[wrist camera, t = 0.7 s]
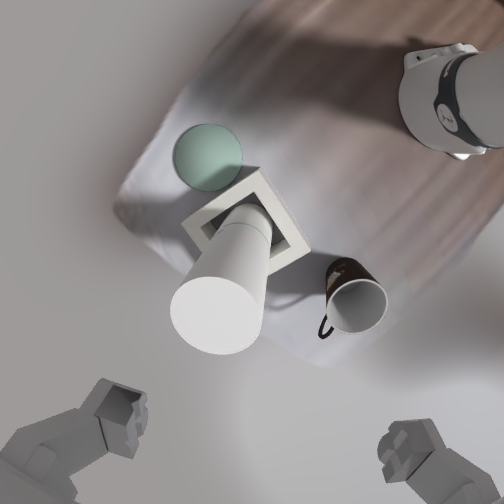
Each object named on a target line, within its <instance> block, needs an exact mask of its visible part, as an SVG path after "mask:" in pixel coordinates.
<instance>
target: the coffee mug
mask: <svg viewBox="0 0 504 504" xmlns="http://www.w3.org/2000/svg"><path fill="white" fill-rule="evenodd" d="M387 308H388V296H387V294H386V291H385V290H384V289H383V287H382V286H381V285H380V284H379V283H378V282H377V281H376V280H375V279H374V278H373V277H372V276H371V274H370V273H369V272H368V271H367V270H366V269H365V268H364V267H363V266H362V265H361V264H360V263H359V262H358V261H356V260H354V259H352V258H341V259H338V260H336V261H335V262H333V263H332V264H331V265H330V266H329V268H328V270H327V272H326V312H327V313H326V315H325V317H324V319H323V321H322V323H321V326H320V329H319V332H318V336H319V337H320V338H321V339H325V338H327V337H328V336H329V335H330V334H331V333H332V332H333V330H334V328H335V329H336V330H337V331H339V332H342V333H345V334H360V333H364V332H366V331H369V330H371V329H372V328H374V327H375V326H376V325H377V324H378V323H380V321H381V320H382V319H383V317H384V316H385V314H386V311H387ZM327 318H328V321H329V323H330V324H331V325H332V326H331V328H330V329H329V331H328V332H327V333H326V334H324V335H322V331H323V327H324V324H325V322H326V320H327Z"/></svg>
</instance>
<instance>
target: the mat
mask: <svg viewBox="0 0 504 504" xmlns="http://www.w3.org/2000/svg"><path fill="white" fill-rule="evenodd" d="M175 162H176V167H177V170H178V172H179V174H180V176H181V177H182V179H183V180H184V181H185V182H186V183H187V184H188V185H190V186H191V187H193V188H195V189H198V190H202V191H215V190H219V189H221V188H223V187H225V186H227V185H228V184H229V183H231V182H232V181H233V180H234V179H235V177H236V176H237V175H238V173H239V171H240V168H241V165H242V149H241V146H240V143H239V141H238V140H237V138H236V137H235V135H234V134H233V133H232V132H230V131H229V130H228V129H226V128H224V127H222V126H219V125H215V124H203V125H199V126H196V127H194V128H192V129H190V130H189V131H188V132H187V133H185V134H184V136H183V137H182V138H181V140H180V141H179V143H178V146H177V148H176V153H175Z"/></svg>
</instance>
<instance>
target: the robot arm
mask: <svg viewBox="0 0 504 504" xmlns="http://www.w3.org/2000/svg"><path fill="white" fill-rule="evenodd" d="M417 57H418V58H419V59H420V61H419V60H418V59H417ZM404 69H405V72H404V76H403V78H402V81H401V84H400V88H399V106H400V110H401V114H402V117H403V119H404V121H405V123H406V125H407V127H408V129H409V130H410V131H411V133H412V134H413V135H414V136H415V137H416V138H417V139H418V140H419V141H420V142H421V143H422V144H424V145H425V146H427V147H429V148H431V149H434V150H438V151H444V152H447V153H449V154H450V155H452V156H453V157H454V158H456V159H458V160H465V159H466V158H467V157H468V156H469V155H470V154H484V153H485V150H486V149H500V148H503V147H504V40H503V42H502V43H500V44H499V45H498V46H496V47H494V48H492V49H490V50H487V51H485V52H483V51H480V52H479V51H478V50H477V49H475V48H474V47H473V46H472V45H469V44H467V45H462V43H458V44H454V45H451V46H448V47H441V48H434V49H427V50H421V51H415V52H410V53H407V54H406V55H405V57H404ZM146 401H147V396H146V393H145V392H143V391H140V390H137V389H134V388H131V387H128V386H125V385H122V384H119V383H115V382H113V381H110V380H107V379H104V378H102V379H100V380H99V381H98V382H97V384H96V385H95V387H94V388H93V389H92V391H91V392H90V394H89V395H88V397H87V398H86V400H85V401H84V402H83V404H82V405H81V407H80V408H79V409H76V408H74V409H71V410H69V411H66V412H64V413H61V414H58V415H56V416H53V417H50V418H47V419H45V420H42V421H39V422H37V423H34V424H31V425H28V426H25V427H22V428H20V429H17V431H16V432H15V433H14V434H13V436H12V437H11V439H10V440H9V441H8V442H7V444H6V445H5V446H4V448H3V449H2V450H1V452H0V504H79V503H77V502H75V501H74V499H75V497H76V495H77V493H78V492H77V489H76V487H75V486H74V484H73V483H72V481H71V480H70V478H69V476H71V475H72V474H74V473H76V472H78V471H79V470H81V469H83V468H84V467H86V466H88V465H89V464H91V463H92V462H94V461H96V460H97V459H99V458H100V457H102V456H103V455H105V454H107V453H108V452H111V453H114V454H118V455H120V456H124V457H127V458H130V459H133V457H134V455H135V453H136V450H137V448H138V445H139V442H138V437H139V436H141V435H143V433H144V431H145V428H146V425H147V420H148V409H147V408H146V407H145V403H146ZM388 429H389V433H387V434H386V435H384V436H383V437H382V439H381V440H380V442H379V445H378V449H377V451H378V457H379V460H380V461H381V462H382V463H383V464H384V466H383V468H382V471H383V475H384V478H385V481H386V483H393V482H401V481H406V483H407V484H408V485H409V486H410V487H411V488H412V489H413V490H414V491H415V492H416V493H417V494H418V495H419V496H420V497H421V498H422V499H423V500H424V501H425V502H426V503H427V504H504V497H502V498H501V496H500V494H499V492H498V490H497V488H496V486H495V484H494V482H493V480H492V478H491V476H490V475H489V474H488V473H486V472H484V471H483V470H481V469H480V468H478V467H477V466H475V465H474V464H472V463H471V462H469V461H468V460H466V459H465V458H464V457H462V456H461V455H459V454H458V453H456V452H454V451H453V450H452V449H450V448H448V449H447V448H446V446H445V444H444V442H443V440H442V438H441V436H440V434H439V432H438V430H437V428H436V426H435V425H434V422H433V421H432V420H431V419H418V420H405V421H394V422H393V423H392V424H391V425H390V427H389V428H388Z"/></svg>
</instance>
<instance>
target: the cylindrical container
mask: <svg viewBox="0 0 504 504" xmlns="http://www.w3.org/2000/svg"><path fill="white" fill-rule="evenodd" d="M272 227H273V225H272V220H271V218H270V216H269V214H268V213H267V212H266V210H265V209H263V208H262V207H260V206H258V205H255V204H242V205H239V206H237V207H235V208H234V209H233V210H232V211H231V212H230V213H229V215H228V216H227V217H226V219H225V220H224V222H223V223H222V224H221V226H220V227H219V229H218V230H217V232H216V233H215V235H214V236H213V238H212V239H211V241H210V242H209V243H208V245H207V246H206V248H205V249H204V251H203V252H202V254H201V255H200V257H199V258H198V259H197V261H196V262H195V264H194V265H193V267H192V268H191V270H190V271H189V273H188V274H187V276H186V277H185V279H184V281H183V282H182V284H181V285H180V287H179V288H178V290H177V291H176V293H175V294H174V296H173V299H172V301H171V308H170V312H171V319H172V322H173V324H174V327H175V328H176V330H177V332H178V333H179V334H180V336H181V337H182V338H183V339H184V340H185V341H187V342H188V343H189V344H190V345H192V346H194V347H195V348H197V349H199V350H202V351H204V352H208V353H212V354H220V355H223V354H232V353H237V352H239V351H241V350H244V349H246V348H247V347H248V346H250V345H251V344H252V343H253V342H254V341H255V339H256V338H257V337H258V335H259V333H260V329H261V326H262V317H263V309H264V301H265V292H266V283H267V275H268V266H269V257H270V248H271V238H272Z"/></svg>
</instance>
